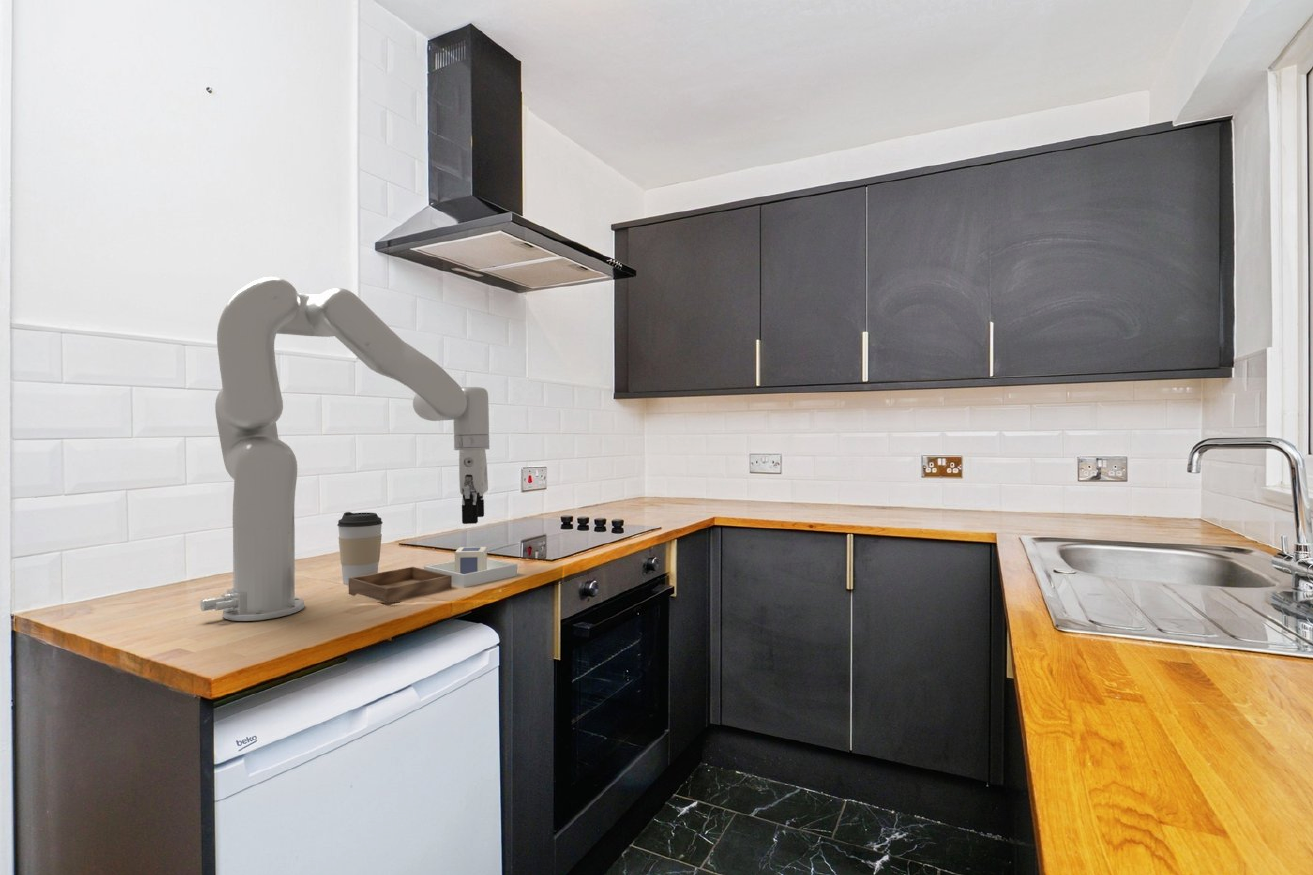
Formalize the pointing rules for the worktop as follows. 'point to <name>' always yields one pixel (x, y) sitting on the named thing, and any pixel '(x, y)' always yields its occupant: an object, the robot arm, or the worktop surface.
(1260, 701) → the worktop surface
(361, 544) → the coffee cup
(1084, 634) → the worktop surface
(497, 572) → the grey tray
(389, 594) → the walnut tray
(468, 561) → the letter cube
